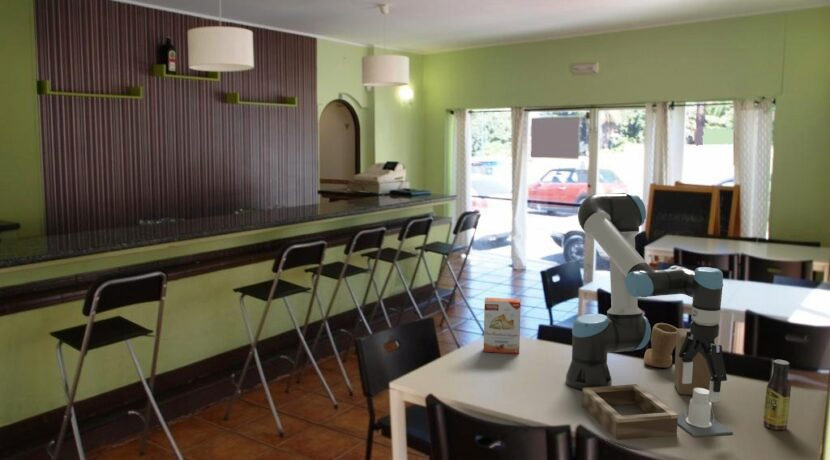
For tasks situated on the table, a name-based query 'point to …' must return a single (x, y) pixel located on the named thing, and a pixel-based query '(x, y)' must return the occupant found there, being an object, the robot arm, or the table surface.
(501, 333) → the cracker box
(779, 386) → the sauce bottle
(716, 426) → the rubber mat
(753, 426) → the table surface
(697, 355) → the wooden block
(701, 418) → the downlight
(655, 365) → the tan boot
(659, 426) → the open wooden box
